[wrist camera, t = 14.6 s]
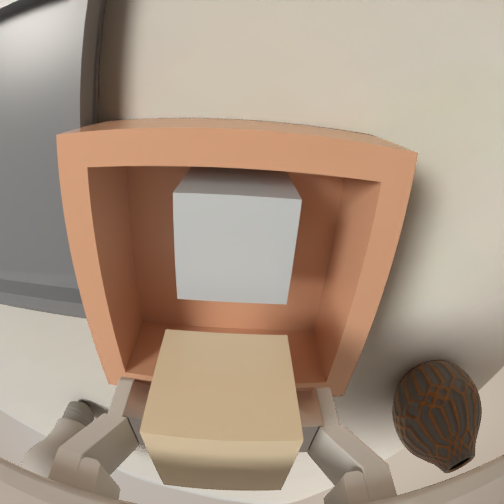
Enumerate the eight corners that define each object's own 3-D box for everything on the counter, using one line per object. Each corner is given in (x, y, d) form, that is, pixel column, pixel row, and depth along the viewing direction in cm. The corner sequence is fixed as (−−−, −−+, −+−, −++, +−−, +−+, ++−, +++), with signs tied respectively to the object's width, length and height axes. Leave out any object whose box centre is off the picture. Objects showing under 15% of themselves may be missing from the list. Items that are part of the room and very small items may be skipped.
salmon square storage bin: (107, 120, 12) (56, 134, 8) (370, 134, 13) (417, 153, 9) (130, 328, 18) (109, 384, 14) (326, 338, 19) (342, 395, 15)
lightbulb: (62, 411, 23) (29, 505, 14) (46, 373, 21) (-2, 480, 11) (119, 428, 24) (96, 531, 14) (111, 392, 21) (75, 515, 11)
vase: (371, 379, 21) (405, 480, 13) (450, 332, 19) (505, 423, 11) (394, 412, 24) (422, 493, 16) (460, 374, 22) (499, 449, 14)
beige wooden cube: (165, 329, 10) (139, 431, 6) (287, 335, 10) (303, 440, 7) (176, 399, 12) (164, 484, 8) (273, 404, 12) (280, 489, 8)
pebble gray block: (192, 165, 13) (172, 192, 10) (286, 170, 13) (302, 199, 10) (192, 249, 15) (177, 298, 11) (276, 253, 15) (286, 304, 12)
